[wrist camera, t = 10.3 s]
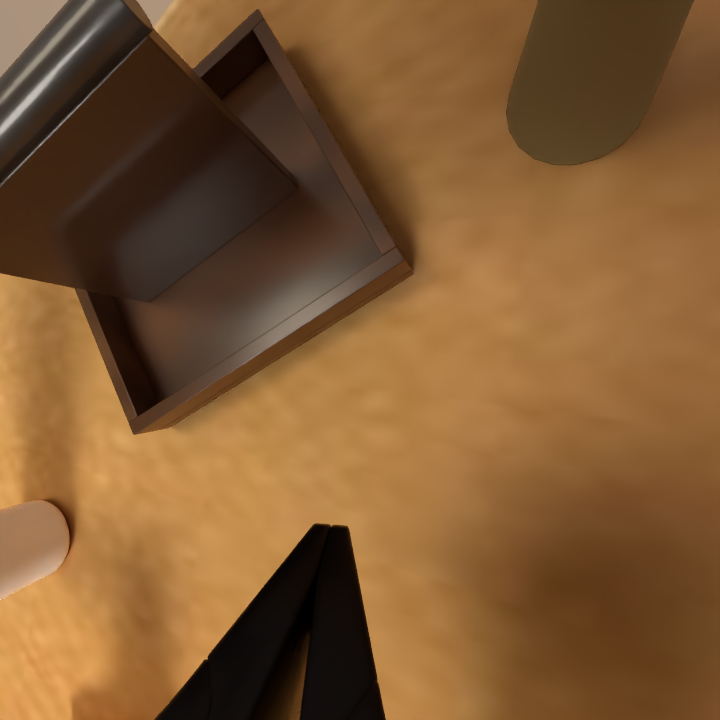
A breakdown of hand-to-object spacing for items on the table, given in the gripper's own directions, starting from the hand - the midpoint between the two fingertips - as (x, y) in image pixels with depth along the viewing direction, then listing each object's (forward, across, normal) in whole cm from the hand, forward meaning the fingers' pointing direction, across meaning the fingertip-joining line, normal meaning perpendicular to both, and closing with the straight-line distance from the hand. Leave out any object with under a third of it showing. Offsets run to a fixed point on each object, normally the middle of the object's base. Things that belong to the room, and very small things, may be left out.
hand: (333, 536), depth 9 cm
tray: (+17, +10, -4) cm, 20 cm away
